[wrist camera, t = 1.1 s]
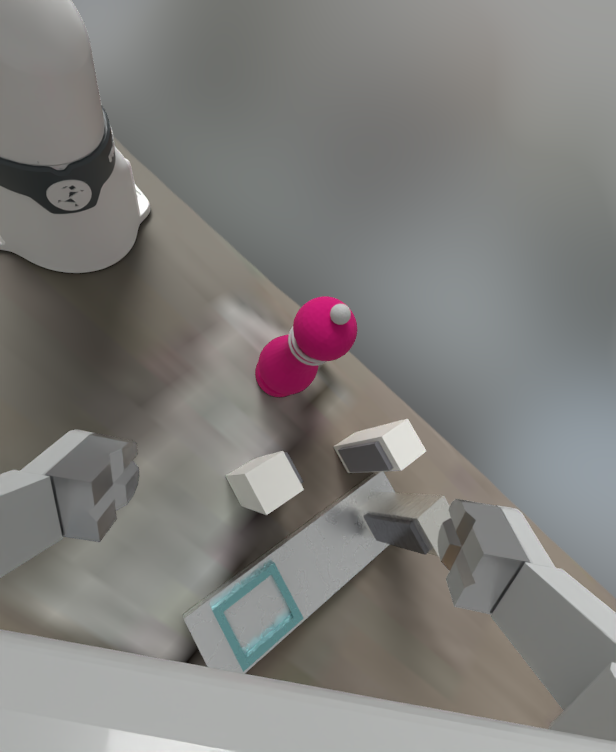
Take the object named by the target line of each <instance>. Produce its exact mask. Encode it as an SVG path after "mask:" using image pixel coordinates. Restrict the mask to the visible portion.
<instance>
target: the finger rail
mask: <svg viewBox="0 0 616 752" xmlns="http://www.w3.org/2000/svg"><path fill="white" fill-rule="evenodd" d="M449 507H450V506H449V504H448V502H447V500H446V499H445V497H444V495H429V494H411V493H395V491H394V490H393V488H392V486H391V484H390V482H389V481H388V479H387V477H386V475H385V473H384V472H374V473H373V474H371V475H370V476H369V477H367V478H366V479H365V480H363V481H362V482H361V483H359V484H358V485H357V486H355V487H354V488H353V489H351V490H350V491H348V492H347V493H346V494H344V495H343V496H342V497H340V498H339V499H338V500H336V501H335V502H334V503H332V504H331V505H330V506H328V507H327V508H326V509H324V510H323V511H321V512H320V513H319V514H317V515H316V516H315V517H313V518H312V519H311V520H309V521H308V522H307V523H305V524H304V525H303V526H301V527H300V528H299V529H297V530H296V531H294V532H293V533H292V534H290V535H289V536H288V537H286V538H285V539H284V540H282V541H281V542H280V543H278V544H277V545H276V546H274V547H273V548H272V549H270V550H269V551H268V552H266V553H265V554H263V555H262V556H261V557H259V558H258V559H257V560H255V561H254V562H253V563H251V564H250V565H249V566H247V567H246V568H245V569H243V570H242V571H241V572H239V573H238V574H236V575H235V576H234V577H232V578H231V579H230V580H228V581H227V582H226V583H224V584H223V585H222V586H220V587H219V588H218V589H216V590H215V591H214V592H212V593H211V594H209V595H208V596H207V597H205V598H204V599H203V600H201V601H200V602H199V603H197V604H196V605H195V606H193V607H192V608H191V609H189V610H188V611H187V612H185V613H184V614H183V617H184V621H185V623H186V625H187V627H188V629H189V631H190V633H191V635H192V637H193V639H194V641H195V643H196V645H197V647H198V649H199V651H200V653H201V655H202V657H203V659H204V661H205V663H206V665H207V667H210V668H216V669H221V670H227V671H232V672H238V673H243V674H245V673H246V672H247V671H248V670H249V669H250V668H252V667H253V666H254V665H255V664H256V663H257V662H258V661H259V660H261V659H262V658H263V657H264V656H265V655H266V654H267V653H268V652H270V651H271V650H272V649H273V648H274V647H275V646H276V645H277V644H279V643H280V642H281V641H282V640H283V639H284V638H285V637H286V636H287V635H289V634H290V633H291V632H292V631H293V630H294V629H295V628H296V627H298V626H299V625H300V624H301V623H302V622H303V621H304V620H305V619H307V618H308V617H309V616H310V615H311V614H312V613H313V612H314V611H316V610H317V609H318V608H319V607H320V606H321V605H322V604H323V603H325V602H326V601H327V600H328V599H329V598H330V597H331V596H332V595H333V594H335V593H336V592H337V591H338V590H339V589H340V588H341V587H342V586H344V585H345V584H346V583H347V582H348V581H349V580H350V579H351V578H353V577H354V576H355V575H356V574H357V573H358V572H359V571H360V570H362V569H363V568H364V567H365V566H366V565H367V564H368V563H369V562H371V561H372V560H373V559H374V558H375V557H376V556H377V555H378V554H380V553H381V552H382V551H383V550H384V549H385V548H386V547H387V546H388V545H394V546H397V547H401V548H404V549H407V550H411V551H414V552H418V553H421V554H425V555H426V554H427V553H428V554H431V555H435V556H439V553H438V544H437V543H438V533H439V530H440V527H441V525H442V523H443V522H444V521H446V520H448V519H449V518H451V516H450V513H449V511H448V509H449Z"/></svg>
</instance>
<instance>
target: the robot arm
mask: <svg viewBox="0 0 616 752" xmlns="http://www.w3.org/2000/svg"><path fill="white" fill-rule="evenodd" d="M150 210H151V208H150V204H149V201H148V199H147V198H146V197H145V196H144V194H143V193H142V192H141V191H140V189H139V188H138V187H137V186H136V184H135V183H134V178H133V173H132V168H131V165H130V162H129V160H127V159H125V158H124V157H123V155H122V154H121V153H120V151H119V150H118V149H117V148H116V147H115V143H114V137H113V132H112V128H111V126H110V123H109V119H108V117H107V114H106V112H105V110H104V108H103V106H102V105H101V100H100V95H99V89H98V84H97V78H96V72H95V67H94V61H93V56H92V50H91V45H90V40H89V36H88V32H87V30H86V27H85V24H84V22H83V20H82V18H81V16H80V14H79V12H78V11H77V9H76V7H75V5H74V4H73V2H72V1H71V0H0V250H5V251H10V252H13V253H15V254H17V255H19V256H21V257H23V258H25V259H26V260H28V261H30V262H32V263H34V264H36V265H39V266H41V267H44V268H47V269H50V270H55V271H60V272H67V273H84V272H92V271H96V270H100V269H103V268H106V267H108V266H111V265H113V264H115V263H116V262H118V261H119V260H121V259H122V258H123V257H124V256H125V255H126V254H127V253H128V252H129V251H130V249H131V248H132V246H133V245H134V242H135V240H136V237H137V232H138V228H139V225H140V223H141V222H142V221H143V220H144V219H145V218H146V217H147V216H148V214H149V213H150ZM137 455H138V449H137V443H136V442H134V441H133V440H128V439H123V438H118V437H113V436H109V435H104V434H99V433H92V432H87V431H82V430H77V429H75V430H71V431H69V432H67V433H66V434H65V435H64V436H62V437H61V438H60V439H59V440H57V441H56V442H55V443H54V444H52V445H51V446H50V447H49V448H47V449H46V450H45V451H44V452H43V453H41V454H40V455H39V456H38V457H36V458H35V459H34V460H33V461H31V462H30V463H29V464H28V465H26V466H25V467H24V468H23V469H21V470H20V471H17V470H11V471H8V472H5V473H2V474H0V578H1V577H3V576H4V575H6V574H7V573H9V572H11V571H12V570H14V569H15V568H17V567H19V566H20V565H22V564H23V563H25V562H27V561H28V560H30V559H31V558H33V557H35V556H36V555H38V554H39V553H41V552H43V551H44V550H46V549H47V548H49V547H50V546H52V545H54V544H55V543H57V542H58V541H60V540H62V539H63V537H69V538H75V539H82V540H89V541H95V542H100V541H101V540H102V538H103V537H104V536H105V534H106V533H107V532H108V530H109V529H110V528H111V526H112V525H113V523H114V522H115V521H116V519H117V518H116V510H118V509H120V508H122V507H124V506H126V505H127V504H128V503H129V501H130V500H131V498H132V497H133V495H134V493H135V490H136V488H137V485H138V481H139V467H138V466H137V465H136V463H135V462H134V461H133V459H134V458H135V457H136V456H137ZM448 511H449V513H450V516H451V518H449V519H448V520H446V521H444V522H443V523H442V525H441V527H440V530H439V533H438V543H437V544H438V553H439V556H440V560H441V562H442V563H443V564H444V566H445V567H446V568H447V569H448V570H449V571H450V572H449V574H448V576H447V578H446V581H447V584H448V587H449V591H450V594H451V597H452V601H453V604H454V607H459V608H463V609H468V610H473V611H478V612H482V613H487V614H491V618H492V619H493V620H494V621H495V623H496V624H497V625H498V627H499V628H500V629H501V630H502V632H503V633H504V634H505V636H506V637H507V638H508V639H509V641H510V642H511V643H512V645H513V646H514V647H515V648H516V650H517V651H518V652H519V654H520V655H521V656H522V657H523V659H524V660H525V661H526V663H527V664H528V665H529V666H530V668H531V669H532V670H533V672H534V673H535V674H536V675H537V677H538V678H539V679H540V681H541V682H542V683H543V685H544V686H545V687H546V688H547V690H548V691H549V692H550V694H551V695H552V696H553V697H554V699H555V700H556V701H557V703H558V704H559V705H560V706H561V708H562V709H563V710H564V711H563V712H562V713H561V714H560V715H559V716H558V717H557V718H556V719H555V720H554V721H553V722H552V723H551V724H550V726H549V728H548V729H544V728H538V727H533V726H527V725H522V724H516V723H511V722H505V721H500V720H495V719H489V718H484V717H478V716H473V715H467V714H462V713H456V712H451V711H445V710H440V709H434V708H429V707H424V706H418V705H413V704H407V703H402V702H396V701H391V700H385V699H380V698H374V697H369V696H364V695H358V694H353V693H347V692H342V691H336V690H331V689H325V688H320V687H315V686H309V685H304V684H298V683H293V682H287V681H282V680H276V679H271V678H265V677H260V676H254V675H249V674H243V673H238V672H232V671H227V670H221V669H216V668H210V667H205V666H199V665H194V664H188V663H183V662H177V661H172V660H166V659H161V658H155V657H150V656H144V655H139V654H133V653H128V652H122V651H117V650H111V649H106V648H100V647H95V646H90V645H84V644H79V643H73V642H68V641H62V640H57V639H51V638H46V637H40V636H35V635H29V634H24V633H18V632H13V631H7V630H2V629H0V752H616V613H615V612H614V611H613V610H612V609H611V608H609V607H608V606H607V605H606V604H604V603H603V602H602V601H601V600H600V599H598V598H597V597H596V596H595V595H593V594H592V593H591V592H590V591H589V590H587V589H586V588H585V587H584V586H582V585H581V584H580V583H579V582H577V581H576V580H575V579H574V578H573V577H571V576H570V575H569V574H568V573H566V572H565V571H564V570H563V569H559V568H555V566H554V564H553V563H552V561H551V560H550V558H549V556H548V555H547V553H546V551H545V550H544V548H543V547H542V545H541V543H540V542H539V540H538V538H537V537H536V535H535V533H534V532H533V530H532V529H531V527H530V525H529V524H528V522H527V520H526V519H525V517H524V515H523V514H522V513H521V512H520V511H519V510H518V509H516V508H510V507H504V506H497V505H496V506H494V505H489V504H483V503H478V502H472V501H466V500H460V499H455V500H454V501H453V502H452V503H451V505H450V507H449V509H448Z"/></svg>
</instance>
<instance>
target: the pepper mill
mask: <svg viewBox="0 0 616 752" xmlns="http://www.w3.org/2000/svg"><path fill="white" fill-rule="evenodd" d="M356 335H357V323H356V320H355V317H354V315H353V313H352V311H351V310H350V309H349V308H348V306H347V305H345V304H344V303H343V302H342V301H340V300H338V299H335V298H332V297H318V298H314V299H312V300H310V301H308V302H307V303H306V304H304V305H303V306H302V307H301V308H300V309H299V311H298V313H297V314H296V317H295V319H294V324H293V327H292V328H291V330H290V332H289V335H284V336H280V337H277V338H275V339H273V340H272V341H270V342H269V343H268V344H267V345H266V346H265V347H264V348H263V350H262V352H261V354H260V357H259V362H258V364H257V366H256V371H255V375H256V380H257V382H258V384H259V386H260V387H261V389H262V390H263V391H264V392H266V393H267V394H269V395H271V396H274V397H285V396H288V395H290V394H296V393H299V392H301V391H303V390H304V389H306V388H307V387H308V386H309V385H310V384H311V383H312V381H313V380H314V378H315V376H316V373H317V370H318V365H321V364H323V363H325V362H327V361H331V360H336V359H338V358H340V357H341V356H343V355H345V354H346V353H347V352H348V351H349V350H350V348H351V347H352V345H353V343H354V342H355V339H356Z"/></svg>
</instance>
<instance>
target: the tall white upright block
mask: <svg viewBox="0 0 616 752" xmlns="http://www.w3.org/2000/svg"><path fill="white" fill-rule="evenodd" d="M226 478H227V480H228V482H229V484H230V486H231V488H232V489H233V491H234V493H235V495H236V497H237V499H238V501H239V503H240V505H241V506H242V507H245V508H248V509H251V510H253V511H256V512H259V513H262V514H265V515H268V514H269V513H271V512H272V511H274V510H275V509H276V508H278V507H279V506H281V505H282V504H284V503H285V502H287V501H288V500H290V499H291V498H292V497H294V496H295V495H297V494H298V493H300V492H301V491H303V490H304V489H303V487H302V485H301V483H303V480H302V478H301V477H300V475H299V473H298V471H297V469H296V467H295V466H294V464H293V462H292V460H291V458H290V456H289V454H288V453H287V452H285V453H284V452H283V451H280V452H276V453H272V454H269V455H265V456H261V457H258V458H254V459H253V460H251V461H249V462H248V463H246V464H244V465H242V466H241V467H239V468H237V469H236V470H234V471H232V472H231V473H229V474H227V475H226Z"/></svg>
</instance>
